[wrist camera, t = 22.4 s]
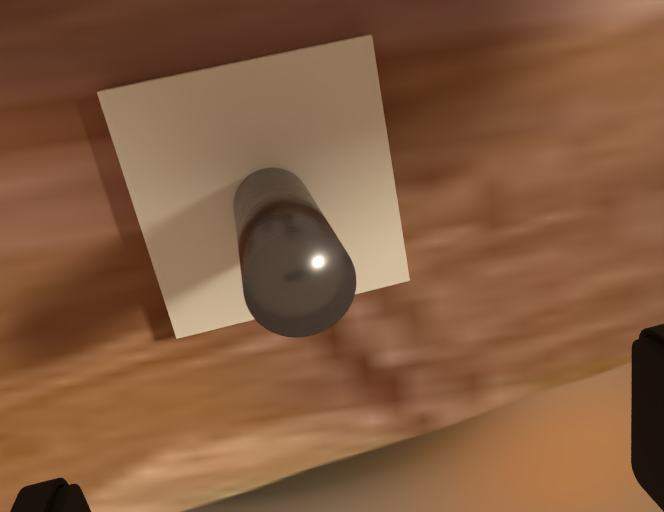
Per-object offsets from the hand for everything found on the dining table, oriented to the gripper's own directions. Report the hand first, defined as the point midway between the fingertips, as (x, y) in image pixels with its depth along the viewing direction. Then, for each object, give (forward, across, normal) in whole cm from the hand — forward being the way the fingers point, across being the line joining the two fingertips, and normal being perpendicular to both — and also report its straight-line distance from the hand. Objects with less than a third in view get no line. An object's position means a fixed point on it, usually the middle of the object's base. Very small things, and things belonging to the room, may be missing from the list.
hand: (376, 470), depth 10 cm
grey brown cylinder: (+20, +1, +1) cm, 20 cm away
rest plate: (+21, +1, 0) cm, 21 cm away
